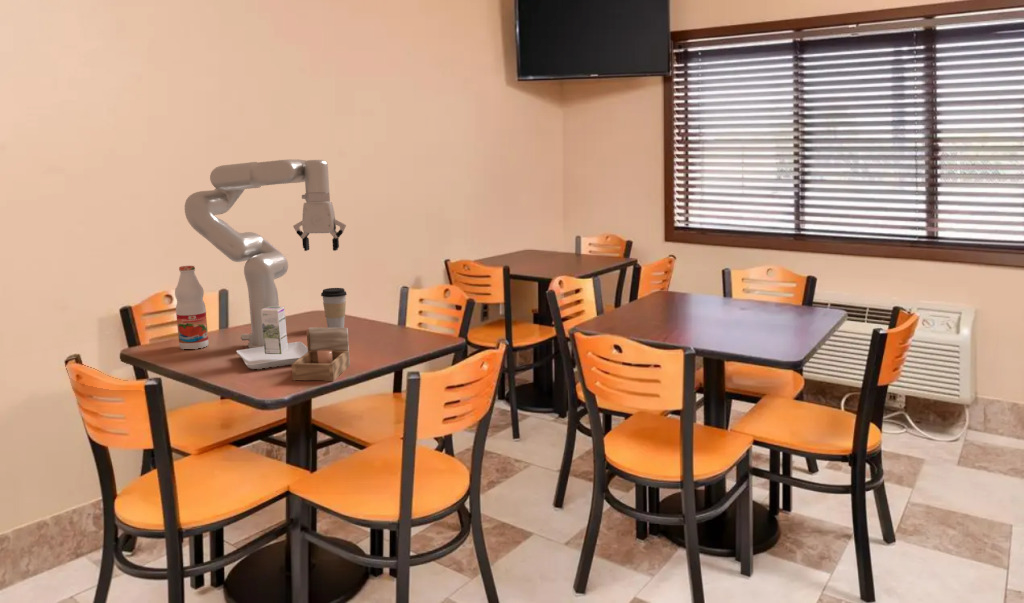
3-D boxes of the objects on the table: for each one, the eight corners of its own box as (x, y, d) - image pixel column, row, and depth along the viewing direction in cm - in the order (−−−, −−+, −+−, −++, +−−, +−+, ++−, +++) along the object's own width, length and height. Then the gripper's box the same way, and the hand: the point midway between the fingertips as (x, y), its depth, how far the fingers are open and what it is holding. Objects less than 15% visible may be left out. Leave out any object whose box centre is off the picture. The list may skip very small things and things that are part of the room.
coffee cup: (345, 331, 288) (343, 291, 285) (320, 331, 288) (317, 291, 285) (351, 325, 297) (348, 287, 294) (326, 326, 297) (324, 287, 294)
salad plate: (247, 374, 234) (246, 363, 233) (236, 359, 252) (235, 349, 252) (317, 365, 244) (316, 354, 243) (301, 350, 262) (300, 341, 261)
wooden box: (333, 381, 223) (331, 340, 221) (291, 381, 224) (288, 340, 222) (349, 365, 240) (347, 327, 238) (310, 365, 241) (307, 327, 239)
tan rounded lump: (316, 371, 233) (315, 352, 232) (321, 368, 238) (319, 349, 237) (330, 372, 233) (329, 352, 232) (335, 368, 237) (334, 349, 236)
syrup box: (288, 349, 249) (284, 305, 246) (281, 354, 243) (277, 309, 241) (271, 349, 250) (267, 305, 247) (264, 354, 244) (259, 309, 241)
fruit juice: (209, 342, 273) (202, 263, 268) (208, 348, 264) (201, 267, 259) (180, 345, 270) (172, 265, 265) (178, 351, 261) (170, 269, 256)
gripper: (288, 199, 250) (291, 251, 253) (340, 198, 249) (343, 251, 252) (296, 197, 257) (299, 249, 261) (347, 197, 256) (349, 248, 259)
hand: (321, 250), depth 256 cm, fingers open, 9 cm apart
